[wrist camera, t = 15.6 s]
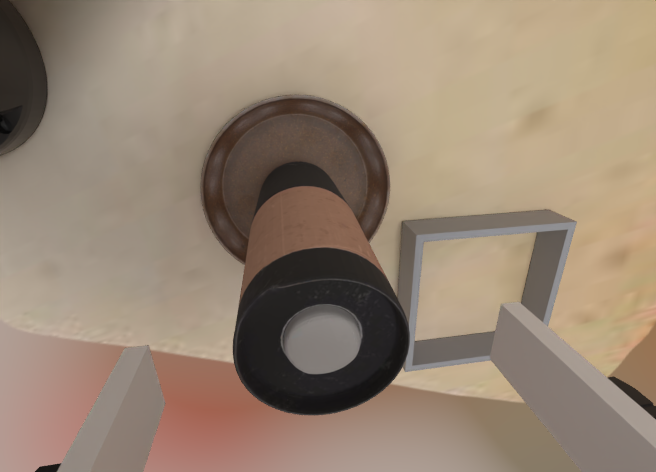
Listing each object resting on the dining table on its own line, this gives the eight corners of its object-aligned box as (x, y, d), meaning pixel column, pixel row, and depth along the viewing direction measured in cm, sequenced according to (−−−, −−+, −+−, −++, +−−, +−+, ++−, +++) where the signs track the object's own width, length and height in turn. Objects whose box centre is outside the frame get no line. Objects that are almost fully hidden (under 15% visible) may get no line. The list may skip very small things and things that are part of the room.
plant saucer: (407, 215, 38) (418, 225, 35) (269, 292, 39) (269, 308, 37) (332, 56, 31) (338, 52, 28) (166, 156, 32) (156, 162, 29)
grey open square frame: (394, 348, 45) (405, 371, 41) (402, 221, 38) (416, 235, 34) (519, 333, 47) (540, 353, 43) (548, 209, 40) (576, 221, 36)
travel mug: (339, 233, 34) (407, 406, 16) (261, 239, 34) (242, 428, 16) (338, 155, 31) (422, 265, 13) (252, 160, 30) (214, 284, 12)
